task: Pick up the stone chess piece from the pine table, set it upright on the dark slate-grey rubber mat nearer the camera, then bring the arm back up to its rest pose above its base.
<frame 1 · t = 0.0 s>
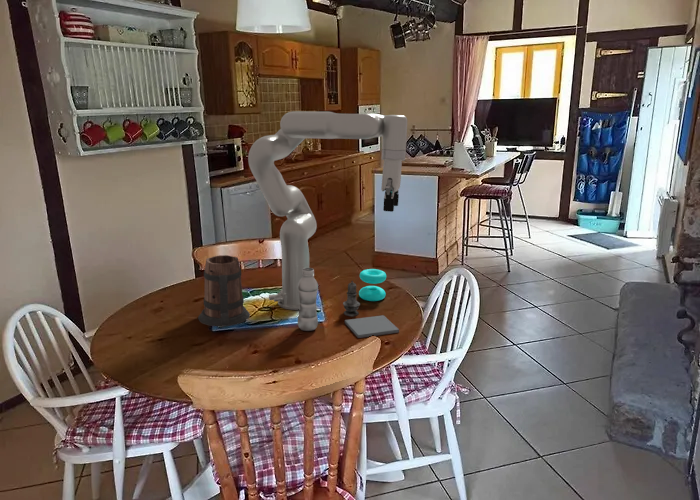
hand: (390, 208, 169), 37 cm above the table, tool pointing down, fingers open, 9 cm apart
plastic bottle: (307, 329, 166), on the table
stone chess piece: (351, 313, 179), on the table
donuts: (372, 297, 195), on the table
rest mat: (371, 327, 168), on the table
tankard: (224, 320, 171), on the table
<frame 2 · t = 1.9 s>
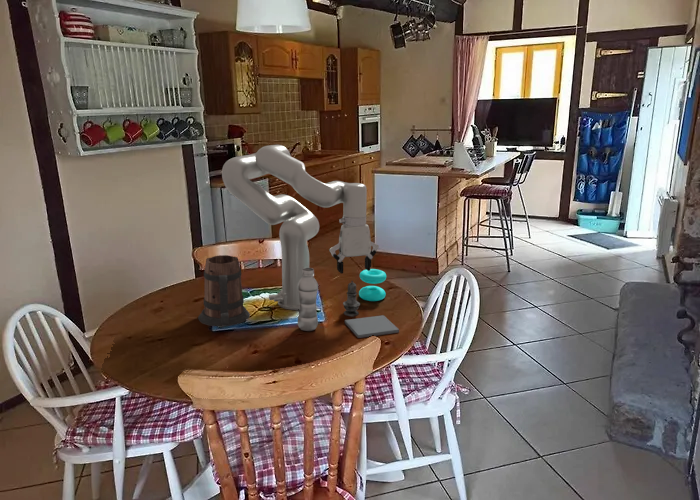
hand: (354, 270, 175), 15 cm above the table, tool pointing down, fingers open, 9 cm apart
nothing on the table moved.
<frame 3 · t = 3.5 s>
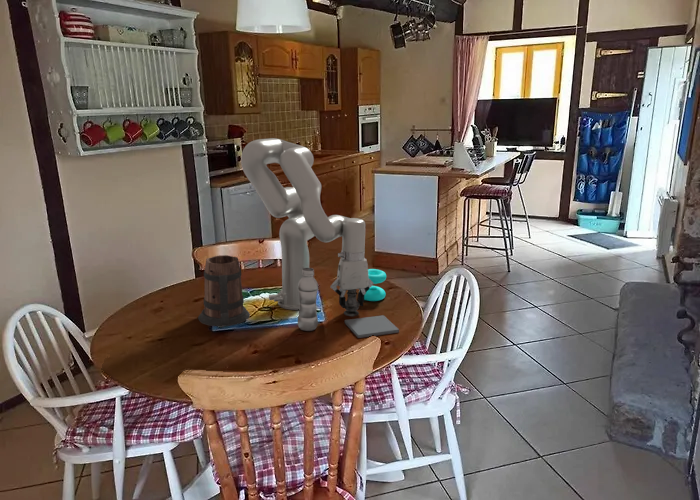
hand: (351, 305, 178), 3 cm above the table, tool pointing down, fingers closed on stone chess piece, 5 cm apart
stone chess piece: (351, 313, 179), on the table, touching gripper
everything else where it was.
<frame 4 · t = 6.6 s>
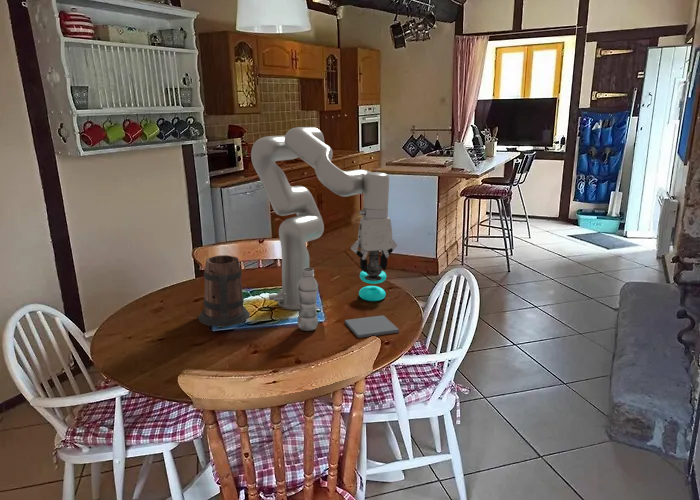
hand: (373, 269, 163), 20 cm above the table, tool pointing down, fingers closed on stone chess piece, 5 cm apart
stone chess piece: (373, 278, 164), point 17 cm above the table, touching gripper
everything else where it was.
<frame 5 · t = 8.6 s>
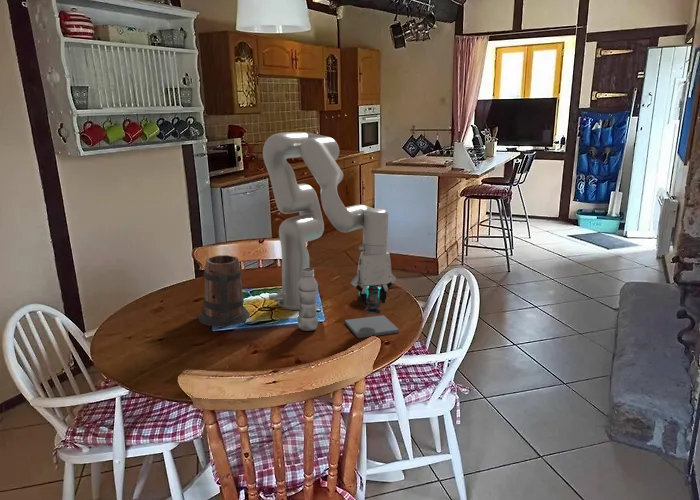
hand: (372, 302, 166), 9 cm above the table, tool pointing down, fingers closed on stone chess piece, 5 cm apart
stone chess piece: (372, 311, 167), point 6 cm above the table, touching gripper
everything else where it was.
when the fingers open (5 cm above the table, at t = 9.9 s): stone chess piece drops 1 cm, resting on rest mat.
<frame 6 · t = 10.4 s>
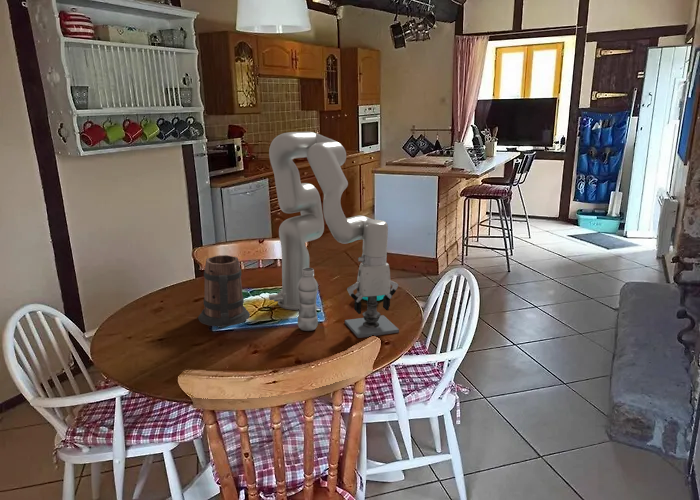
hand: (372, 310, 167), 6 cm above the table, tool pointing down, fingers open, 9 cm apart
stone chess piece: (371, 325, 168), point 1 cm above the table, touching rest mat
everything else where it was.
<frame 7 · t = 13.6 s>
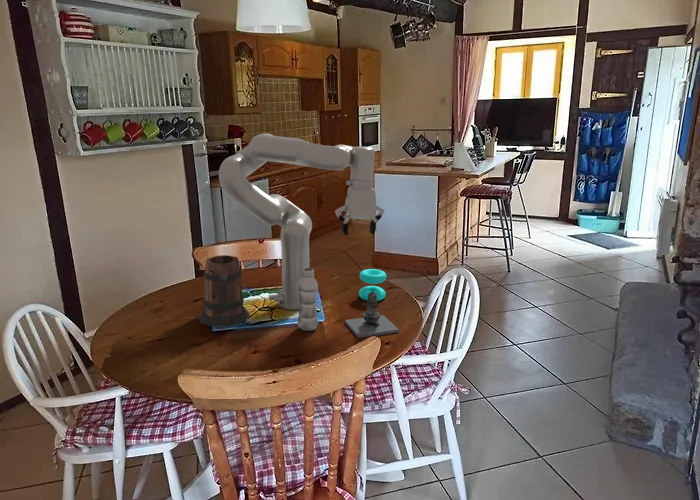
hand: (358, 233, 178), 27 cm above the table, tool pointing down, fingers open, 9 cm apart
nothing on the table moved.
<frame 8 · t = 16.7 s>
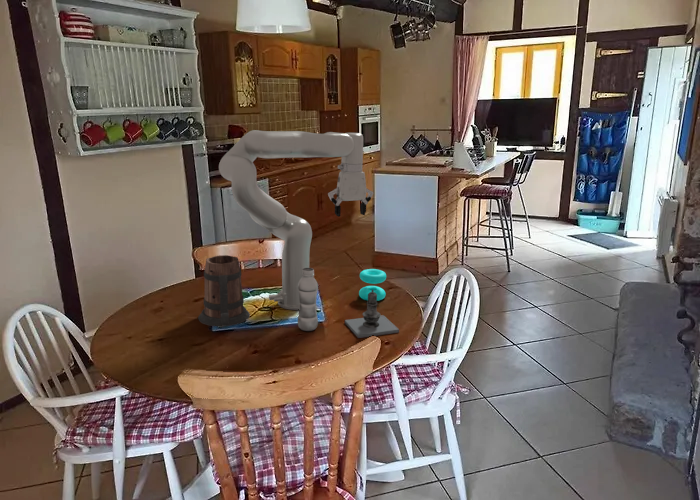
hand: (350, 215, 190), 30 cm above the table, tool pointing down, fingers open, 9 cm apart
nothing on the table moved.
at the end: stone chess piece inside the target area on the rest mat (0.2 cm from its centre), point 0.8 cm above the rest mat's base; stone chess piece tilted 0°; the gripper is holding nothing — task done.
